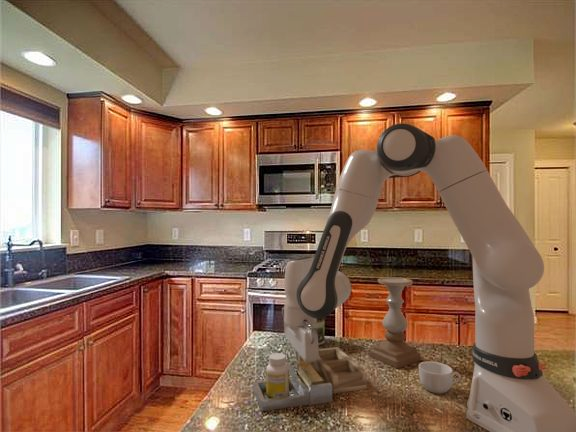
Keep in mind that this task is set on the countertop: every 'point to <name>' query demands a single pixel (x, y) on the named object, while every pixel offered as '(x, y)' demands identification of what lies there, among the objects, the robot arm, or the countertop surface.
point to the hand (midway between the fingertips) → (300, 365)
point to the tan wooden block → (308, 374)
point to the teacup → (436, 376)
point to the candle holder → (395, 328)
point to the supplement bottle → (277, 376)
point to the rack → (339, 371)
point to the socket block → (300, 397)
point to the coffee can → (319, 330)
